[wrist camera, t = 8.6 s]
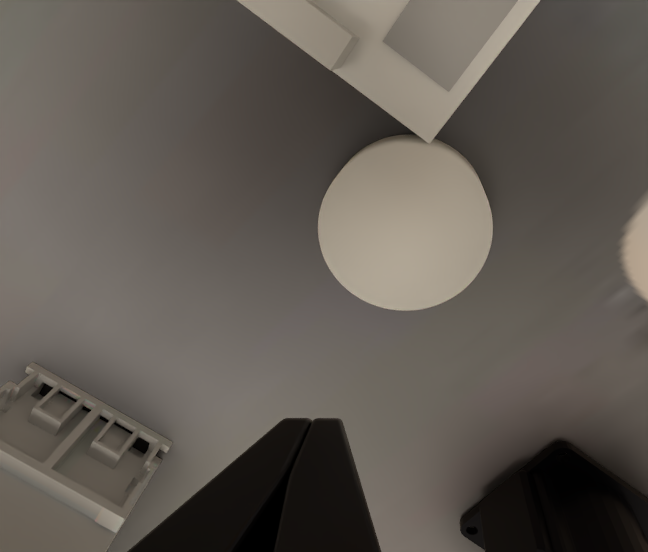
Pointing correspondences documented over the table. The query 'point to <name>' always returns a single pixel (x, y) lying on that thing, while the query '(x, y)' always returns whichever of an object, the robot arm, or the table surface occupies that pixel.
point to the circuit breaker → (67, 467)
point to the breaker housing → (402, 47)
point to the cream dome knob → (405, 223)
